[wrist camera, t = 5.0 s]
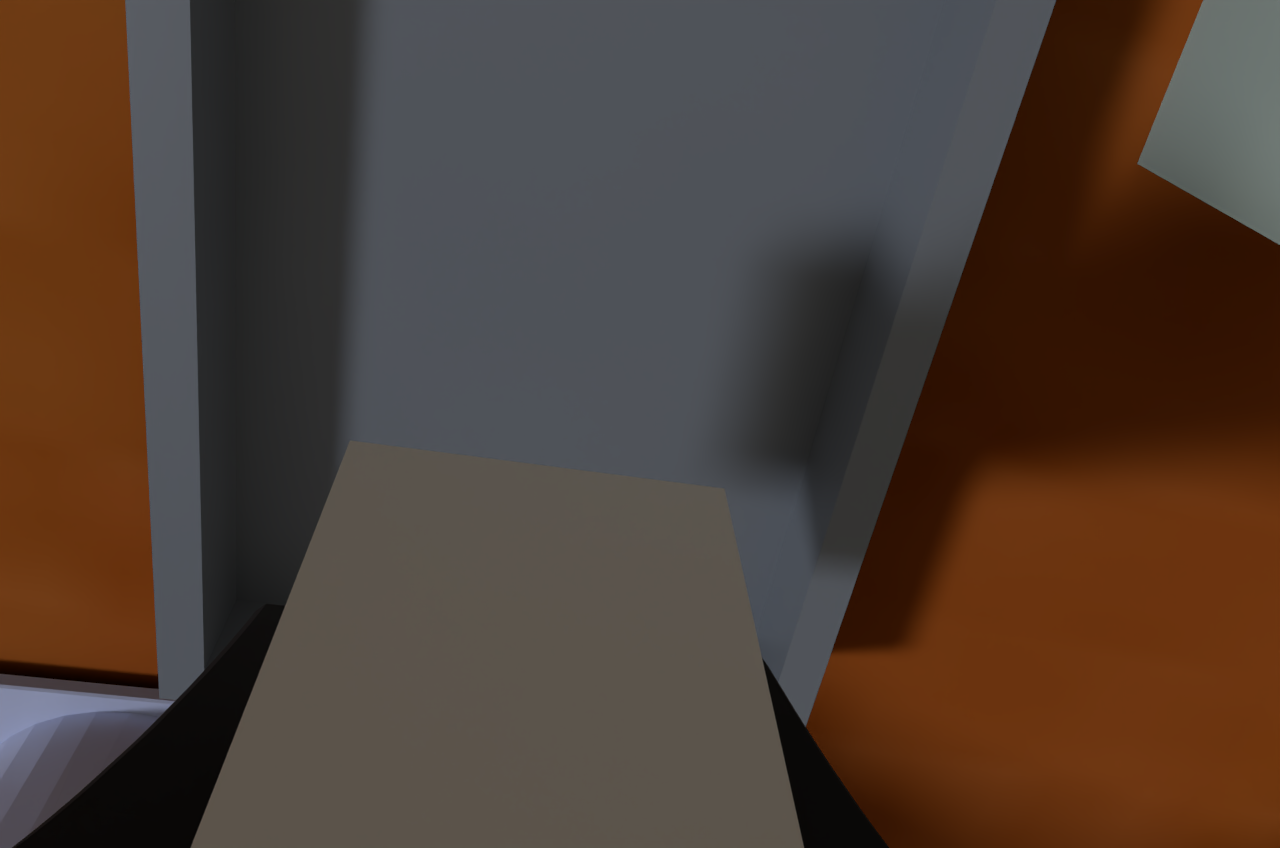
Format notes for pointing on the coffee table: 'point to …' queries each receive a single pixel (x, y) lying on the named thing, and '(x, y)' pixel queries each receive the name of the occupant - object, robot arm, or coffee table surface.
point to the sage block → (1225, 114)
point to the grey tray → (551, 264)
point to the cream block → (509, 671)
